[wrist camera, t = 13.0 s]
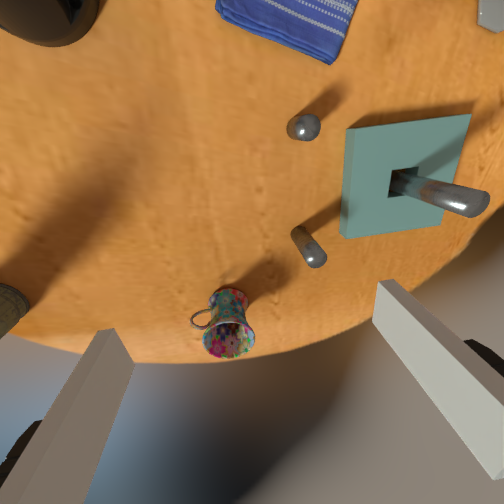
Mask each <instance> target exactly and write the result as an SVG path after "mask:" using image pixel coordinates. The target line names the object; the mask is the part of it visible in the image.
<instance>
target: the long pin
mask: <svg viewBox="0 0 504 504" xmlns="http://www.w3.org/2000/svg"><path fill="white" fill-rule="evenodd" d="M389 189H390V190H392V191H395V192H398V193H401V194H404V195H406V196H409V197H412V198H415V199H418V200H420V201H423V202H426V203H429V204H432V205H434V206H437V207H440V208H443V209H446V210H448V211H451V212H454V213H457V214H459V215H462V216H465V217H468V218H472V217H476V216H478V215H480V214H481V213H482V212H483V211H484V210H485V209H486V208H487V206H488V205H489V202H490V195H489V193H487V192H486V191H481V190H477V189H473V188H468V187H464V186H460V185H456V184H451V183H447V182H443V181H438V180H434V179H430V178H426V177H421V176H417V175H413V174H408V173H404V172H400V171H396V170H392V172H391V179H390V185H389Z"/></svg>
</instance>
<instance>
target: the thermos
mask: <svg viewBox="0 0 504 504" xmlns="http://www.w3.org/2000/svg"><path fill="white" fill-rule="evenodd" d="M28 311H29V302H28V300H27V299H26V297H25V296H24V295H23V294H22V293H21V292H19V291H18V290H16V289H14V288H13V287H11V286H7V285H4V284H0V339H1V338H2V337H3V336H4V335H5V334H6V333H7V332H8V331H10V330H11V329H12V328H13V327H14V326H15V325H16V324H17V323H18V322H19V320H20V319H21V318H22V317H23V316H24V315H25V314H26V313H27V312H28Z"/></svg>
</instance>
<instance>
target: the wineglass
mask: <svg viewBox="0 0 504 504" xmlns="http://www.w3.org/2000/svg"><path fill="white" fill-rule="evenodd" d="M477 25H479V26H481V27H483V28H485V29H487V30H489V31H491V32H493V33H499V32H501V31H503V30H504V0H478V10H477Z"/></svg>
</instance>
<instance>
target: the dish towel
mask: <svg viewBox="0 0 504 504" xmlns="http://www.w3.org/2000/svg"><path fill="white" fill-rule="evenodd" d="M357 1H358V0H216V5H215V10H217V12H218V13H220V14H221V18H222V19H224V20H225V21H227V22H229V23H232V24H234V25H236V26H239V27H241V28H242V29H244V30H247V31H249V32H251V33H253V34H256V35H259V36H261V37H264V38H267V39H269V40H273V41H275V42H278V43H280V44H282V45H284V46H287V47H289V48H292V49H294V50H297V51H299V52H301V53H304V54H306V55H309V56H311V57H313V58H315V59H318V60H320V61H322V62H324V63H326V64H328V65H331V64H332V63H333V62H334V61H335V60H336V58H337V55H338V53H339V50H340V47H341V45H342V42H343V40H344V38H345V35H346V32H347V28H348V26H349V22H350V20H351V17H352V15H353V12H354V9H355V7H356V4H357Z"/></svg>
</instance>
